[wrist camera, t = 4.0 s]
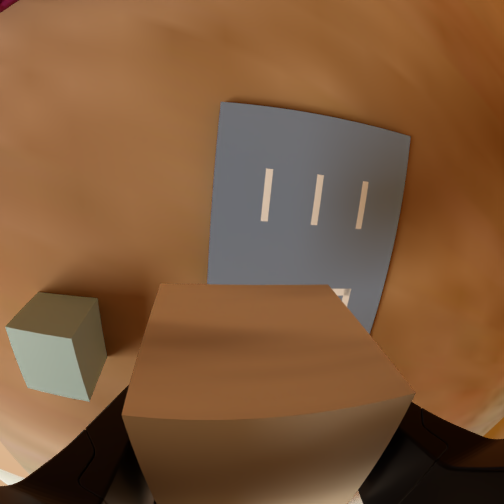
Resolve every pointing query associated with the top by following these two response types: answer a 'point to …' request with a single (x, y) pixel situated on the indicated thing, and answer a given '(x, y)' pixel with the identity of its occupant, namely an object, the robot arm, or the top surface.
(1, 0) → the book
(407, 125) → the top surface
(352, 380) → the maple block
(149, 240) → the top surface
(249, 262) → the blueprint board
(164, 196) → the top surface
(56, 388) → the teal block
